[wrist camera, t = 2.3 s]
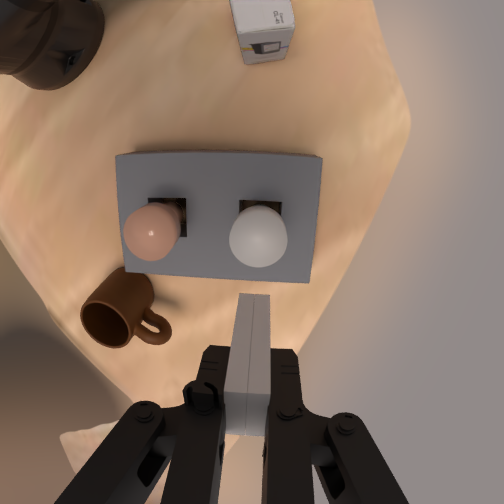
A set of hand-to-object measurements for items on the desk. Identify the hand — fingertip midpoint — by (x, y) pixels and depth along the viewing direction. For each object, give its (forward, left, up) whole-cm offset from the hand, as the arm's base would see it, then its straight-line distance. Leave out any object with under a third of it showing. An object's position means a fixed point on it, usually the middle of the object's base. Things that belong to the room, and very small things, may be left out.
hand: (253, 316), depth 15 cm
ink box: (-22, -1, -22) cm, 31 cm away
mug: (+13, -16, -22) cm, 31 cm away
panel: (0, -5, -22) cm, 23 cm away
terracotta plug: (0, -10, -19) cm, 21 cm away
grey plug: (0, 0, -19) cm, 19 cm away
